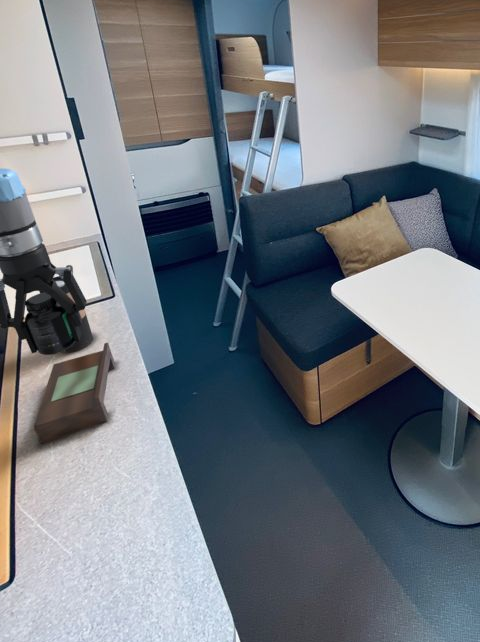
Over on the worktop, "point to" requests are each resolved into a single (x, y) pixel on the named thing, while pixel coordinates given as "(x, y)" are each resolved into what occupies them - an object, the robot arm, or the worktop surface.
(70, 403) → the wooden plaque with label
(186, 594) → the worktop surface
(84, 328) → the travel mug
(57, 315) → the supplement bottle
